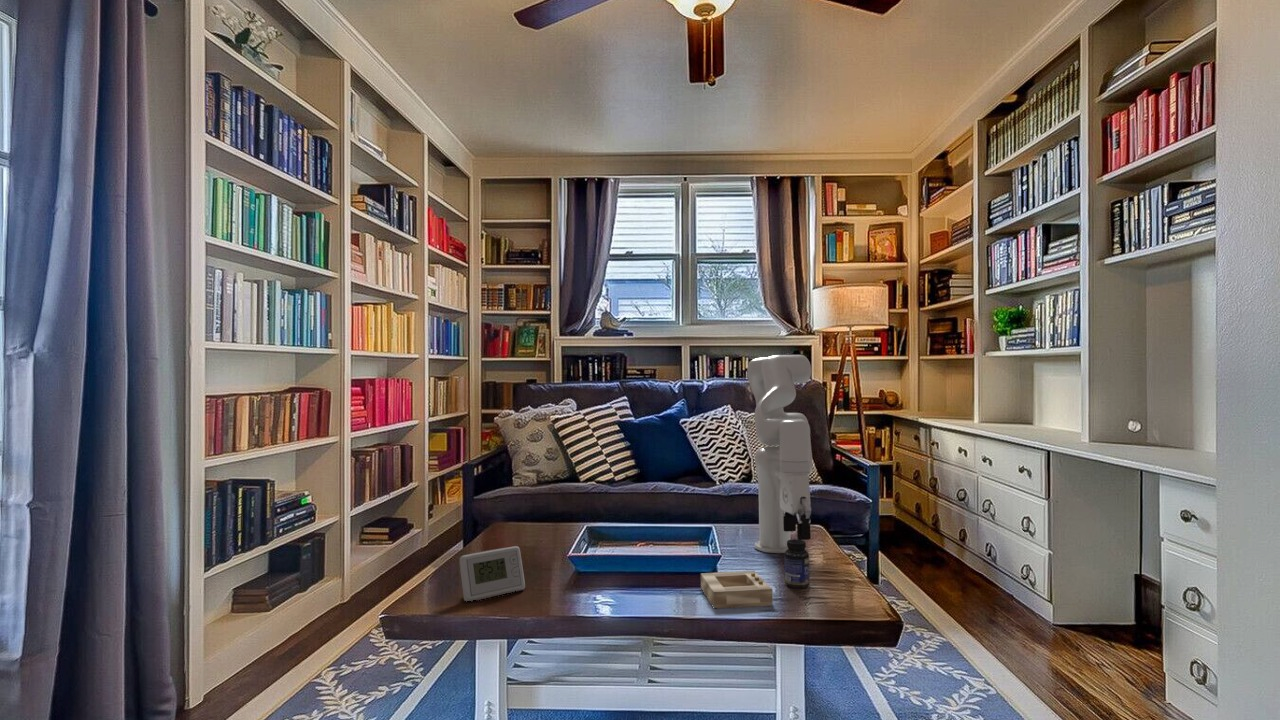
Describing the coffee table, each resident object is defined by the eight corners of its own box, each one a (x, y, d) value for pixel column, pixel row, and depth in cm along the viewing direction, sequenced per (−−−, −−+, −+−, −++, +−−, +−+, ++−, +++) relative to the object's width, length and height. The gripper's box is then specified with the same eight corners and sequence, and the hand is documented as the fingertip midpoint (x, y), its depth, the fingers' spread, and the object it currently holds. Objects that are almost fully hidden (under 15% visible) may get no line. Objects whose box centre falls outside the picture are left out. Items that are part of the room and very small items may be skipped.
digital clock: (461, 605, 148) (461, 560, 148) (456, 593, 156) (456, 550, 156) (529, 594, 154) (528, 551, 155) (520, 584, 163) (520, 543, 163)
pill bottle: (810, 589, 156) (809, 545, 156) (785, 588, 157) (784, 544, 157) (808, 581, 162) (807, 538, 162) (784, 580, 163) (783, 538, 163)
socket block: (700, 588, 157) (700, 571, 158) (754, 585, 159) (754, 568, 159) (714, 608, 143) (713, 589, 144) (772, 605, 145) (772, 586, 145)
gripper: (769, 464, 168) (771, 528, 167) (793, 472, 151) (795, 543, 150) (796, 464, 169) (798, 527, 168) (822, 471, 152) (824, 542, 151)
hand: (796, 535), depth 159 cm, fingers open, 9 cm apart
